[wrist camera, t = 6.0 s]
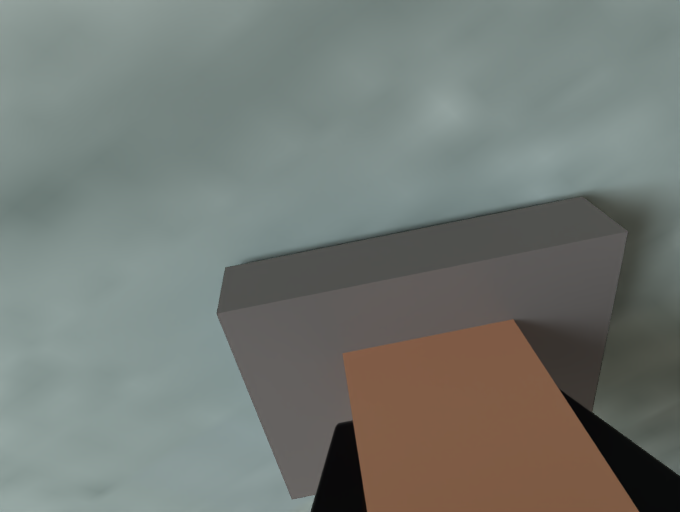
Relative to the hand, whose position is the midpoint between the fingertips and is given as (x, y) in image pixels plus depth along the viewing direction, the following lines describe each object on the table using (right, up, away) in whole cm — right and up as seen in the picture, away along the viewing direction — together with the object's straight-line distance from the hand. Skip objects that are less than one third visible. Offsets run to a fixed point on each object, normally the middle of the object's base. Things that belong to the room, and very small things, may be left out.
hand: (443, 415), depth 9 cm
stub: (0, +1, +2) cm, 2 cm away
